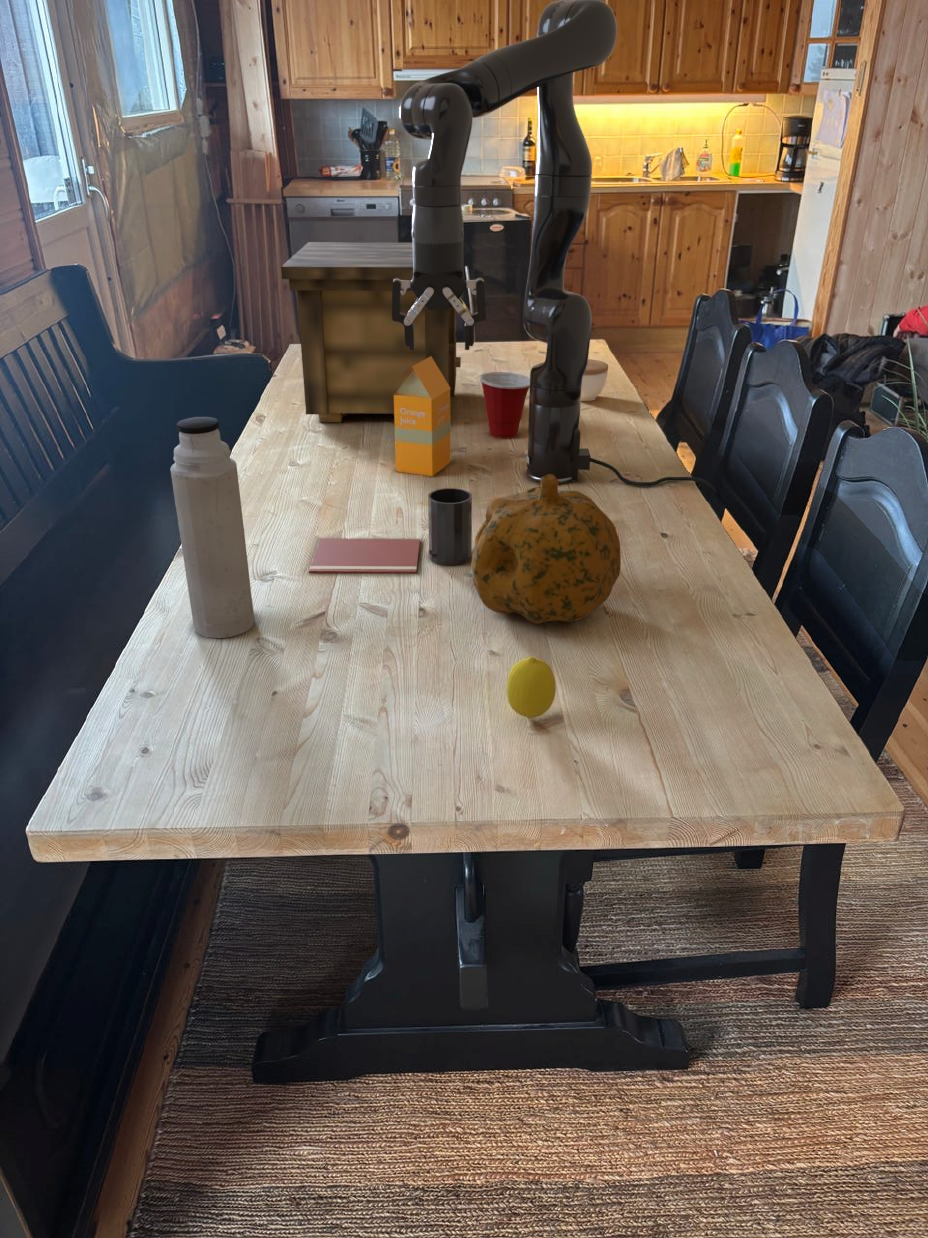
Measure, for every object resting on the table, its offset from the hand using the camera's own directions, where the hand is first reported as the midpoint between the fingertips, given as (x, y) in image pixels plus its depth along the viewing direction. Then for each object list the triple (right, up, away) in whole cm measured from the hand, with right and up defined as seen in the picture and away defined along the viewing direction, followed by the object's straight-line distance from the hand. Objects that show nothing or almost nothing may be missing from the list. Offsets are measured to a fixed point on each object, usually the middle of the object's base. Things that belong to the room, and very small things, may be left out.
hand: (439, 349), depth 152 cm
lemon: (+11, -53, -40) cm, 67 cm away
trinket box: (+32, +10, +77) cm, 84 cm away
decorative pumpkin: (+15, -40, -15) cm, 45 cm away
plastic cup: (+12, -3, +53) cm, 54 cm away
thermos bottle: (-29, -43, -20) cm, 55 cm away
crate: (-15, +7, +72) cm, 73 cm away
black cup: (+2, -32, -1) cm, 32 cm away
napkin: (-11, -32, -1) cm, 34 cm away
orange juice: (-4, -13, +35) cm, 38 cm away
